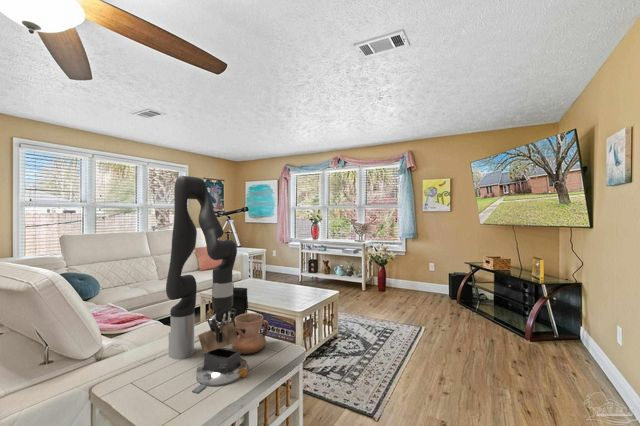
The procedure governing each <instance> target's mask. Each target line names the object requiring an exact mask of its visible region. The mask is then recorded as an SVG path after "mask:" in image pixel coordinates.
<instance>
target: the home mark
mask: <svg viewBox="0 0 640 426" xmlns="http://www.w3.org/2000/svg"><path fill="white" fill-rule="evenodd" d="M206 388H207V385H203V384H201V383H200V384H199V385H198V386H196V387H195V388H193V389H192V391H191V392H192V393H193V394H199V393H201V392H202V391H203V390H205V389H206Z"/></svg>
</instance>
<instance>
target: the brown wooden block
mask: <svg viewBox="0 0 640 426" xmlns="http://www.w3.org/2000/svg"><path fill="white" fill-rule="evenodd" d="M219 328H220V326H218V329H219ZM197 336H198V337H197V338H198V339H199V343H200V345H201V349H202V352H203V354H205V353H207V352H210V351H213V350H216V349H219V348H226V347H227V346H228V347H229V346H232V344H234V343H235V342H237V341H239V339H238V336H237V333H236V330H235V327H234V324H233V322H231V323H228V324H225V325H224V326H223V329H222V342H221V343H218V342H217V341H216V333H215V332H212V331H211V329H209V330H207V331H204V332H202V333H200V334H197Z"/></svg>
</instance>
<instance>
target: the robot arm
mask: <svg viewBox="0 0 640 426" xmlns="http://www.w3.org/2000/svg"><path fill="white" fill-rule="evenodd" d="M173 191H174V195H173V197H174V198H173V200H174V209H173V210H174V214H173V225H172V226H173V227H172V234H171V236H172V237H171V248H170V249H171V251H170V262H169V267H168V273H167V278H166V284H165V285H166V286H165V293H166V297H167V298H168V299H169V300H170V301H175V300H176V301H177V300H179V299H180V300H179V302H177V303H176V304H175V305H173V306H172V307H171V309H170V315H169V316H170V332H168V356H169V357H170V358H171V359H173V360H183V359H187V358H190V357H191V356H193V355H194V354H195V309H196V305H197V280H196V278H195V276H194V275H193V274H183V275H182V272H183V268H184V267H185V264H186V263H187V261H188V259H189V258H190V257H191V255H192V254H193V252H194V251H195V249H196V246H197V237H198V233H197V232H198V230H197V228H196V224H195V223H194V221H193V219H192V217H191V215H190V214H189V213H190V212H189V210H188V200H197V202H198V203H199V205H200V210H199V214H198V225H199V226H200V229H201V231H202V233H203V235H204V238H205V244H206V251H207V256H208V257H209V259H211V260H212V261H220V260H221V263H219V264H218V265H216V266H214V267H213V269H212V286H211V307H212V309H213V313H212V316H211V318H210V317H208V318H207V322H208V326H209V328H210V329H209V330H211V331H212V332H215V333H216V341H217V342H218V343H221V342H222V329H223V326H224V325H225V324H228V323H231V322H234V318H235V314H236V309H232V308H231V307H232V306H233V284H234V283H233V270H234V269H233V268H234V266H235V261H236V258H237V253H238V247H237V244H236V243H235V241H234V240H232V239H223V240H219V239H220V238H222V237H223V235H224V228H223V227H222V225H221V223H220V220H219V218H218V217H217V214H216V212H215V210H214V206H213V203H212V199H211V196H210V193H209V189H208V187H207V184H206V182H205V180H204V179H202V178H201V177H195V176H188V175H180V176H178V177H177V178H176V179H175V182H174V189H173ZM218 327H220V328H219V329H218Z"/></svg>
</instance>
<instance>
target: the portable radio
mask: <svg viewBox="0 0 640 426" xmlns="http://www.w3.org/2000/svg"><path fill="white" fill-rule="evenodd" d="M234 285H235V284H234V283H233V306H232V307H231V308H232V309H236V314H235V317H237V316H239V315H241V314H246V313H248V309H249V301H248V288H247V287H236V286H235V287H234ZM233 324H234V327H236V326H235V318H234V322H233ZM236 333H237V336H238V335H239V333H238V332H237V331H236Z"/></svg>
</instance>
